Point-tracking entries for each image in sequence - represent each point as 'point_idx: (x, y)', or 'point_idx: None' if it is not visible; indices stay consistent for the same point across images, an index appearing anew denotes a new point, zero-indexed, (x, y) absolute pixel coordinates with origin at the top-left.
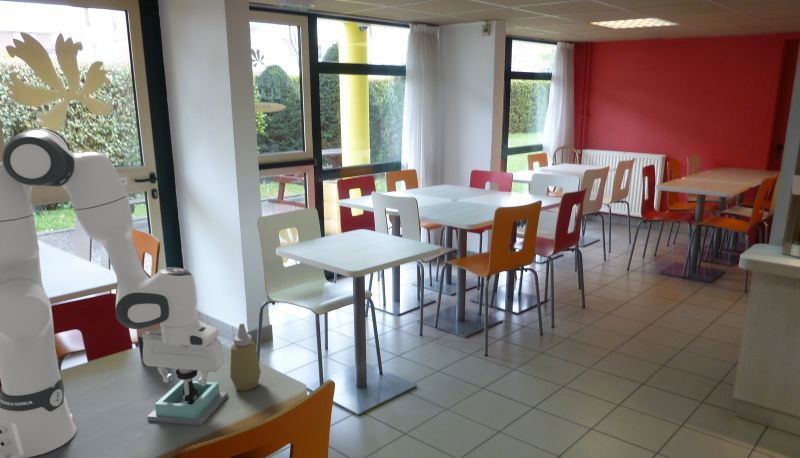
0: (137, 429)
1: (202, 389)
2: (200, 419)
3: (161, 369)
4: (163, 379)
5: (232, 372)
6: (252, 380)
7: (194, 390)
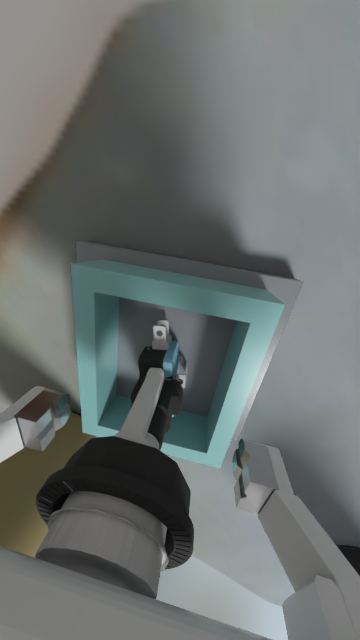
0: (327, 210)
1: None
2: (82, 254)
3: (333, 598)
4: (282, 467)
5: (47, 470)
6: None
7: (132, 393)
